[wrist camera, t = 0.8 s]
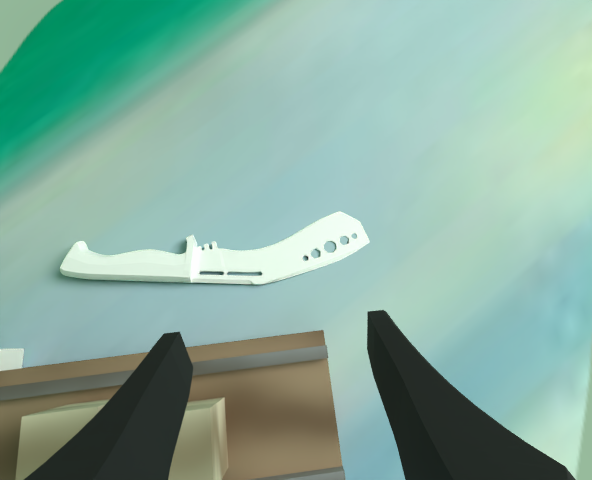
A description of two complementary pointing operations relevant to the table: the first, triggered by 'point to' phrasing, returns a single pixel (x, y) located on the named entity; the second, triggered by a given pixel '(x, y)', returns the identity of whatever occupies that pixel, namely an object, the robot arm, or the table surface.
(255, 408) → the slot block
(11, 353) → the tray
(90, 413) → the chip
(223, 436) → the beige cube
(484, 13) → the table surface
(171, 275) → the knife
